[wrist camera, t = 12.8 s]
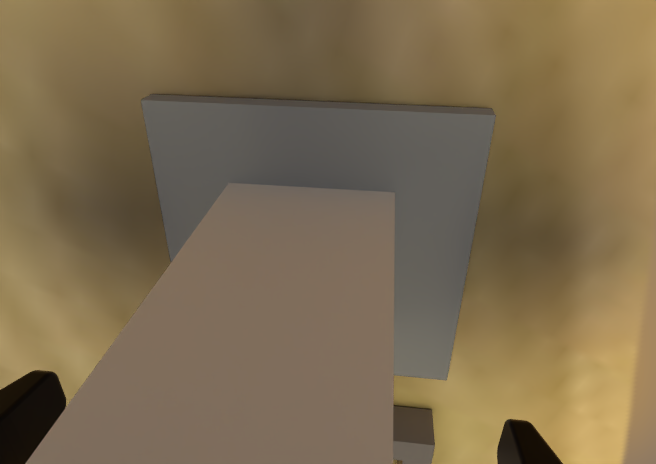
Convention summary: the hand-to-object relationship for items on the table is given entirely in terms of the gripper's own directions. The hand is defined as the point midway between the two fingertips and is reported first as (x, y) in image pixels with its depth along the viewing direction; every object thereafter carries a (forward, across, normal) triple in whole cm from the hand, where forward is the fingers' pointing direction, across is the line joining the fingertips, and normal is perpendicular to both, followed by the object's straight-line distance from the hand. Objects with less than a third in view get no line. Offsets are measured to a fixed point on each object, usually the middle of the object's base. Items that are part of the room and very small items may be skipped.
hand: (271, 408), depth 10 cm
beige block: (+6, 0, 0) cm, 6 cm away
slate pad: (+6, 0, 0) cm, 6 cm away
